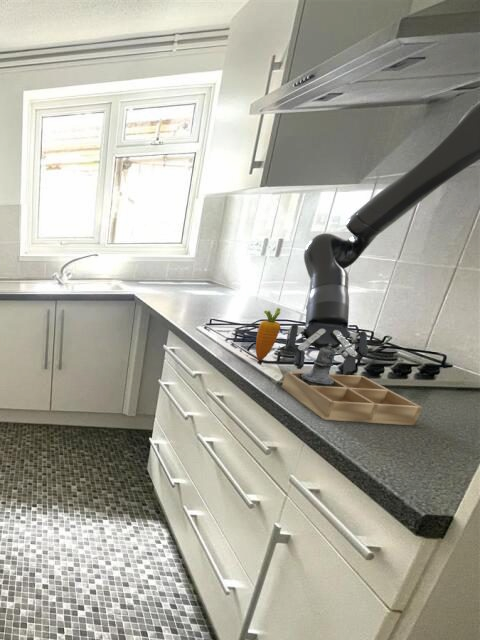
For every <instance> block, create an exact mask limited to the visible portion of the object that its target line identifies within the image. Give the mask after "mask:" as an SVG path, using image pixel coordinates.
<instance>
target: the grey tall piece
mask: <svg viewBox="0 0 480 640" xmlns="http://www.w3.org/2000/svg"><path fill="white" fill-rule="evenodd" d="M331 346H332V344H331V343H330V344H329V346H327V347H323V348H319V351H318V353H317V357H316V359H314V360H313V363H314V364H313V365H312V368H311V370H310V371H309V372H307V373H308V374H303V375H302V381H304V382H305V383H307V384H308V385H312V386H331V384H333V383H334V381H333V380H332V379H330V378H329V377H328V375H329V374H330V370H331V368H332V367H333V366H334V363H333V361H334V359H335V356H336V354H337V352H336V351H335V349H333V348H332V347H331Z"/></svg>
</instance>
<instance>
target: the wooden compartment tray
mask: <svg viewBox="0 0 480 640" xmlns="http://www.w3.org/2000/svg"><path fill="white" fill-rule="evenodd" d="M308 373H309V372H297V371H286V373H285V375H284V378H283V381H282V384H281V388H282V389H283V390H284V391H285V392H287V393H288V394H289V395H291V396H292V397H293V398H294V399H296V400H297V401H299V402H300V403H301V404H302V405H304V406H305V407H306V408H308V409H309V410H311V411H312V412H313V413H314V414H316V415H317V416H319V417H320V418H321V419H323V420H325V421H338V422H354V423H355V422H356V423H367V424H368V423H370V424H384V425H397V426H399V425H400V426H415V424H416V423H417V420H418V419H419V417H420V414H421V412H422V410H423V408H424V407H422V406H421V405H418V404H417V403H415V402H413V401H411V400H410V399H407V398H406V397H404V396H402V395H400V394H398V393H397V392H394V391H393V390H391V389H389V388H388V387H385V386H383V385H381V384H379V383H378V382H376V381H374V380H372V379H370V378H368V377H366V376H364V375H353V374H352V375H351V374H349V375H348V376H347V375H343V374H336V373H334V374H332V373H329V375H328V377H329V378H330V379H332V380H333V381H334V383H333V384H331V386H312V385H308V384H307V383H305V382H304V381H302V375H303V374H308Z"/></svg>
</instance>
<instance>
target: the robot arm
mask: <svg viewBox="0 0 480 640" xmlns="http://www.w3.org/2000/svg"><path fill="white" fill-rule="evenodd" d="M479 161H480V98H479V99H478V100H476V101H475V102H474V103H473V104H472V105H470V107H468V109H467V110H466V111H465V112H464V113H463V115H462V116H461V119H459V122H458V123H457V125H456V126H455V127H454V128H453V129H452V130H451V131H450V132H449V133H448V134H447V136H446V137H444V139H443V140H442V141H440V143H439V144H438V145H437V146H436V147H435V148H434V149H433V150H431V152H430V153H428V154H427V155H426V156H425V157H424V158H422V159H421V161H419V162H418V163H417V164H415V165H414V166H413V167H411V168H410V169H409V170H408V171H406V172H405V173H404V174H402V175H400V176H399V177H398V178H397V179H395V180H394V181H392V182H391V183H390V184H388V185H387V186H385V187H384V188H383V189H381V190H380V191H379V192H378V193H377V194H376V195H374V196H373V197H372V198H370V199H369V200H368V201H367V202H366V203H365V204H363V205H362V206H361V207H360V208H359V209H357V210H356V212H353V214H351V215H350V216H349V217H348V218H347V219H346V222H345V227H346V229H347V230H348V231H349V232H350V234H352V235H351V236H350V237H349V238H347V239H344V238H342V237H340V236H337V235H335V234H332V233H327V232H326V233H320V234H317V235H315V236H314V237H313V238H311V239H310V240H309V242H308V243H307V244H306V246H305V248H304V253H303V261H304V266H305V268H306V272H307V275H308V278H309V292H308V298H307V302H306V305H305V309H306V313H305V325H304V326H305V327H300V326H298V324H294V323H293V324H292V325H291V327H290V328H289V329H288V330H287V334H286V340H285V347H284V350H285V351H286V352H292V353H293V354H294V356H293V366H294V367H296V369H297V370H301V369H302V368H303V367H304V365H305V357H306V356H305V354H306V350H308V348H310V347H311V346H312V347H313V348H314V349H321V348H323V347H327V346H329V344H330V343H331V344H332V346H331V347H332V348H333V349H335V351H336V354H338V355H340V356H341V357H342V358H343V359H344V360H343V367H342V375H347V376H348V375H351V374H352V373H354V371H355V370H356V360H357V361H361V360H363V358H365V357H366V356H367V355H368V354H369V353H368V352H369V351H368V337H367V335H368V334H367V332H366V331H363V330H361V331H360V332H350V330H349V328H348V327H349V315H350V314H349V313H350V296H349V282H350V281H349V272H348V271H347V270H346V268H347V269H348V268H349V267H351V265H353V264H354V263H355V262H356V261H357V260H358V259H359V258H360V257H361V255H362V254H363V253H364V252H365V251H366V249H367V248H368V247H369V246H370V245H371V244H372V242H373V241H374V240H375V239H376V238H377V237H378V236H379V235H380V234H381V233H382V232H384V231H385V230H387V229H388V228H389V227H390V226H392V225H393V224H394V223H396V222H397V221H398V220H400V219H401V218H402V217H403V216H405V215H407V213H409V212H410V211H411V210H412V209H413V208H415V207H416V206H417V205H418V204H420V203H421V202H422V201H424V200H425V199H426V198H428V197H429V195H431V194H432V193H433V192H435V191H436V190H437V189H438V188H440V187H442V186H443V185H444V184H446V183H447V182H448V181H450V180H451V179H452V178H454V177H456V176H457V175H458V174H460V173H461V172H463V171H464V170H466V169H468V168H469V167H470V166H472V165H474V164H476V163H477V162H479ZM301 334H302V336H303V337H304V338H305V340H304V341H303V342H302V343H301V344H300V345H298V344H296V341H297V337H299V336H300V335H301ZM348 339H350V340H351V343H352V344H354V348H352V344H351V343H350V342H349V340H348Z"/></svg>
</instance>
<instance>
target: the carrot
mask: <svg viewBox="0 0 480 640" xmlns="http://www.w3.org/2000/svg"><path fill="white" fill-rule="evenodd" d="M263 313H264V314H265V315H266V317H267V320H262V321H261V322H260V323H259V326H258V330H257V334H256V338H255V340H256V342H255V356H256V358H257V361H258V362H261V361H263V360H264V359H265V358H266V357H267V356H268V354H269V353H270V352H271V350H272V348H273V347H274V345H275V343H276V341H277V338H278V336H279V334H280V330H281V323H280V322H278V321H276V320H277V319H278V317H279V315H280V314H281V308H279V307H277V308H276V309H275V311H274V314H272V312H271V310H264V311H263Z"/></svg>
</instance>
